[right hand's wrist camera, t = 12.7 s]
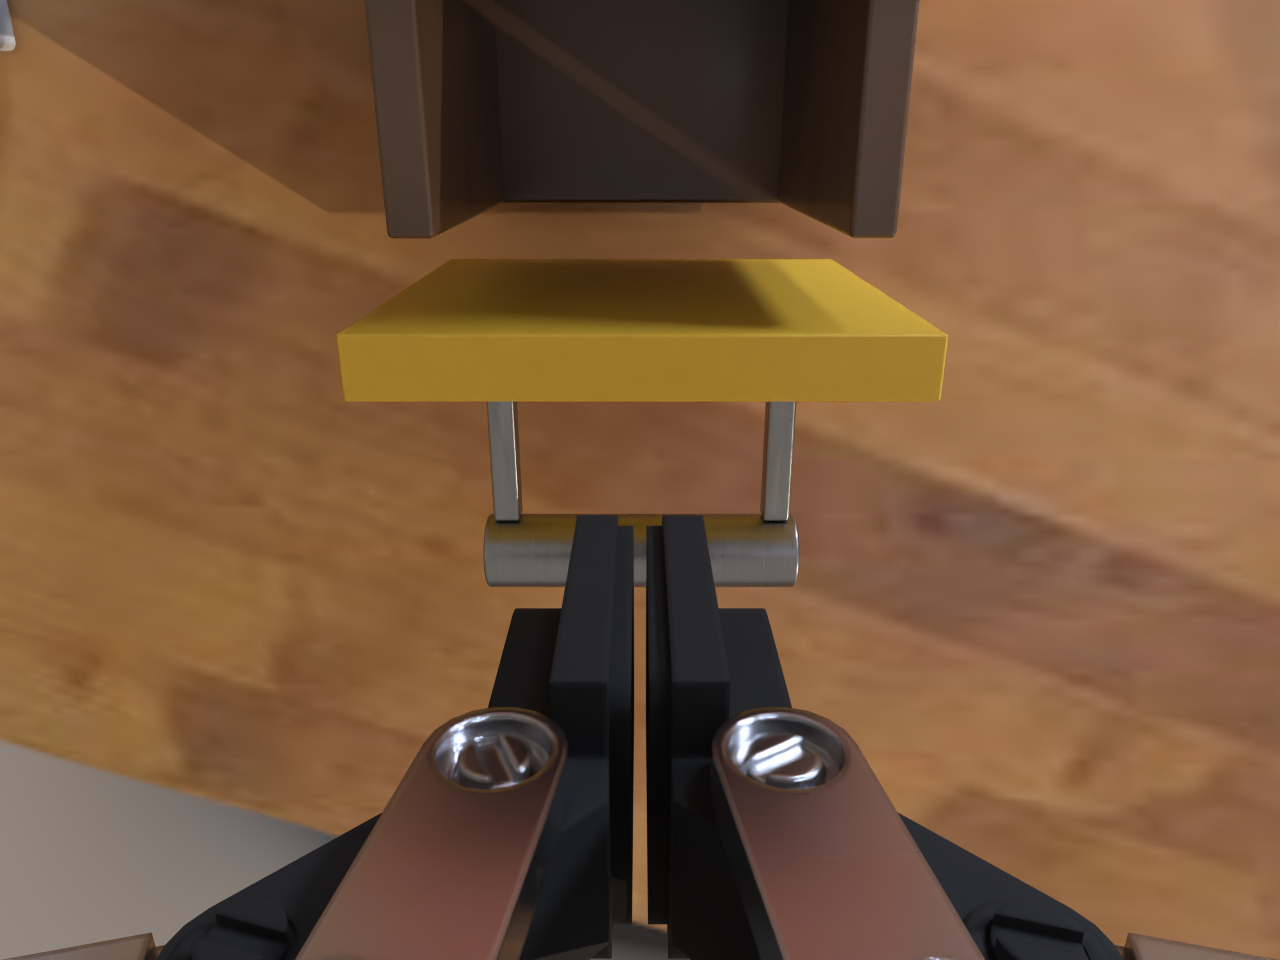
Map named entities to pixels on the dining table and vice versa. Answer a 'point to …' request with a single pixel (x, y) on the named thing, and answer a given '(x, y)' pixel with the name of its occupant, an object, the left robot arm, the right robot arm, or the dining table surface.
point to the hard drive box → (6, 28)
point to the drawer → (642, 173)
